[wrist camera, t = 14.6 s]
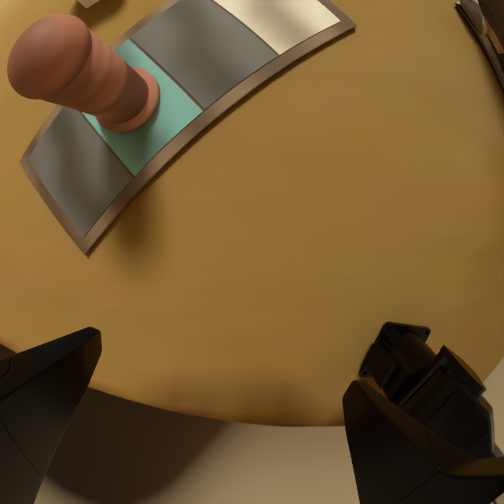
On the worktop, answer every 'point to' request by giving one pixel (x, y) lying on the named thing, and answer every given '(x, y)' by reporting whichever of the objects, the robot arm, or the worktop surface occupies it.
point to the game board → (170, 99)
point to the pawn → (81, 74)
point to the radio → (487, 29)
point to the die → (87, 2)
